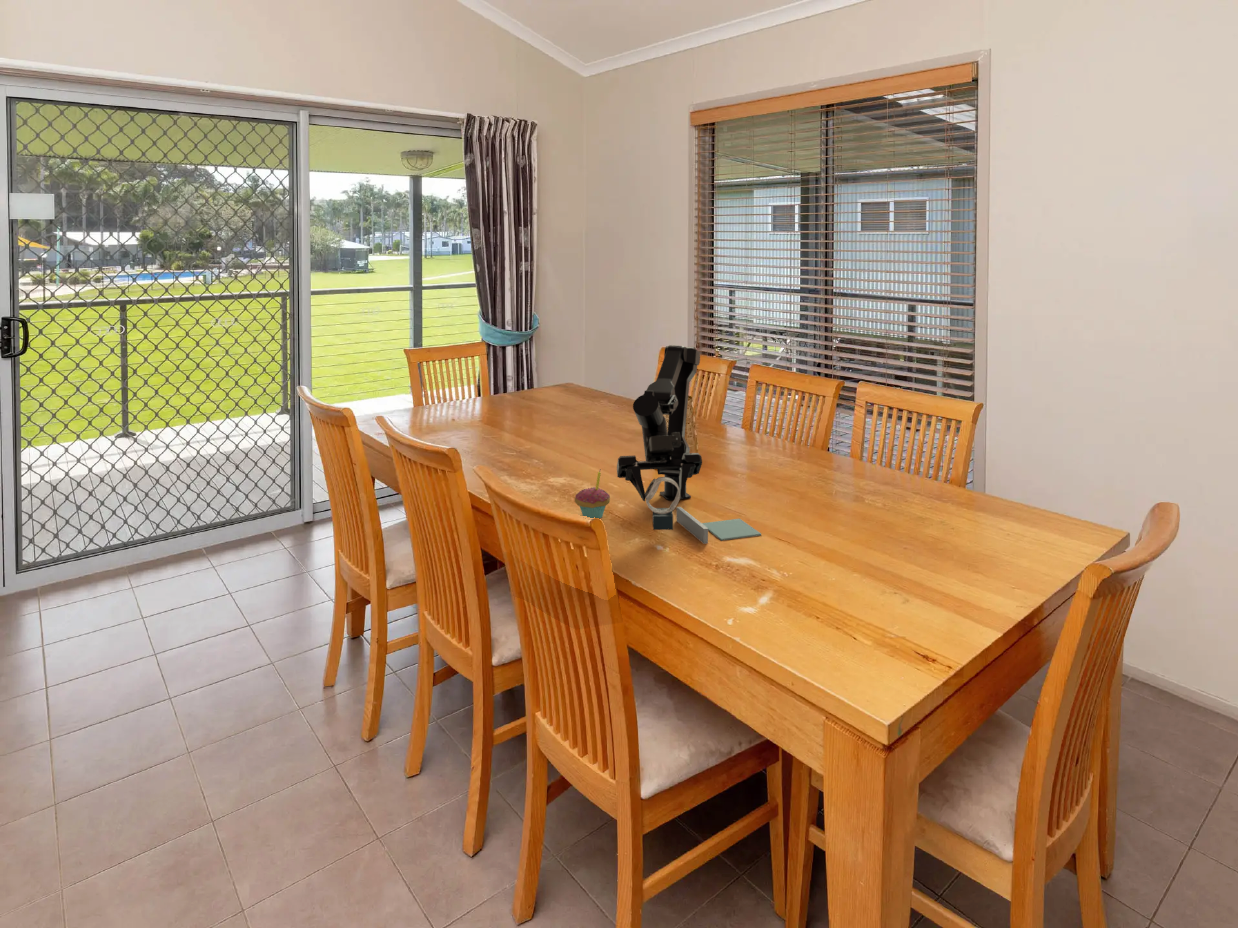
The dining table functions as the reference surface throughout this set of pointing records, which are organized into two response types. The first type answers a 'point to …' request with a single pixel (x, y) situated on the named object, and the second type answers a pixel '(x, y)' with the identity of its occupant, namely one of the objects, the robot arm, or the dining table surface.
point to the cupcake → (592, 500)
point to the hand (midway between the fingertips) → (663, 499)
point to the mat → (731, 529)
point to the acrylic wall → (692, 525)
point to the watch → (661, 515)
